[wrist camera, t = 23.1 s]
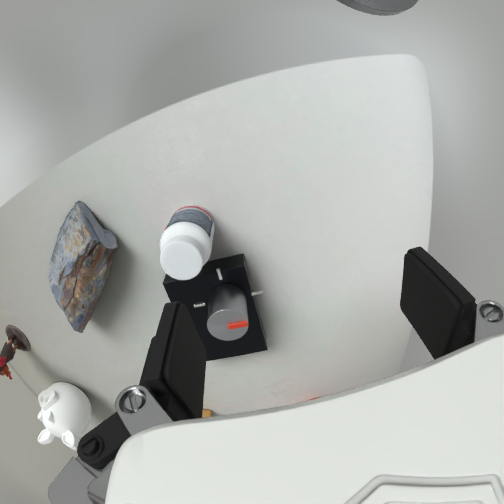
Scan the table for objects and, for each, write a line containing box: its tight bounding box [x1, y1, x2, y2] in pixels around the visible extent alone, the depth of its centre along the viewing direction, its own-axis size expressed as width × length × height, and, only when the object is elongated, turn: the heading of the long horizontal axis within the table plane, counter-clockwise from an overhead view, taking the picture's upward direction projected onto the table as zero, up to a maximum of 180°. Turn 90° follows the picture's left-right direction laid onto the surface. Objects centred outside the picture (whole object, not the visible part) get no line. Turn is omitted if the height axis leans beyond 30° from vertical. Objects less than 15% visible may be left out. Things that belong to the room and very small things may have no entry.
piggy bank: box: [38, 382, 91, 450], centre depth 40 cm, size 12×12×15 cm
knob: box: [207, 284, 248, 341], centre depth 32 cm, size 4×4×5 cm
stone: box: [49, 201, 118, 333], centre depth 33 cm, size 17×5×10 cm
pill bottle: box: [160, 205, 215, 280], centre depth 29 cm, size 5×5×9 cm
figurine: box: [0, 325, 30, 379], centre depth 34 cm, size 7×9×15 cm
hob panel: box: [163, 254, 268, 361], centre depth 37 cm, size 14×11×3 cm
